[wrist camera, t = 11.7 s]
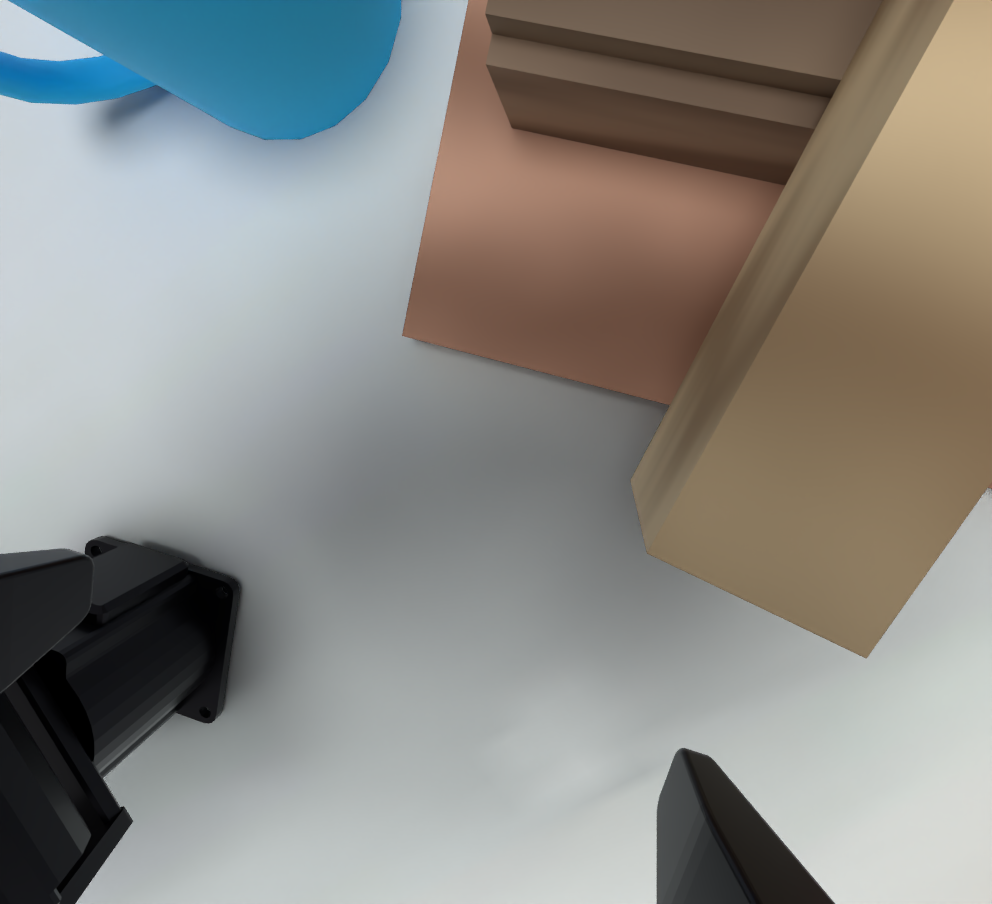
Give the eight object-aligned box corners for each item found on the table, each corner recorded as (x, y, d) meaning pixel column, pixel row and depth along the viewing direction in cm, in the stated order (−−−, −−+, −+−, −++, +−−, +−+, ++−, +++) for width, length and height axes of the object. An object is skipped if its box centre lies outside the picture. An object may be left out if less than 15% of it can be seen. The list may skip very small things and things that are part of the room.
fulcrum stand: (1119, 518, 17) (1394, 614, 11) (413, 335, 19) (335, 335, 14) (1462, -125, 13) (2154, -495, 7) (531, -247, 16) (493, -591, 10)
